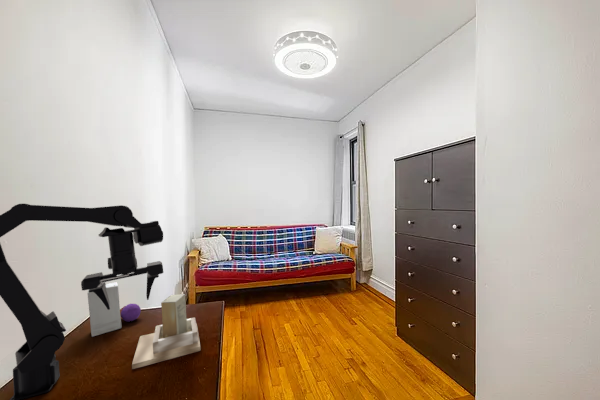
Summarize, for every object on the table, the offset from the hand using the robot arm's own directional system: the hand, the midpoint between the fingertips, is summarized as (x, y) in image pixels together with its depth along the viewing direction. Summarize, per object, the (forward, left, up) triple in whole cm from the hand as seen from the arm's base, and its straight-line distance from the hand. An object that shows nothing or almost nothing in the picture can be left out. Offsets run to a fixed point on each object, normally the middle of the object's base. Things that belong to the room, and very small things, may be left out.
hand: (129, 304), depth 74 cm
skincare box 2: (+11, -3, -12) cm, 17 cm away
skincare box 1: (-10, +20, -13) cm, 26 cm away
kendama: (-8, +29, -13) cm, 33 cm away
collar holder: (+10, -3, -13) cm, 16 cm away
